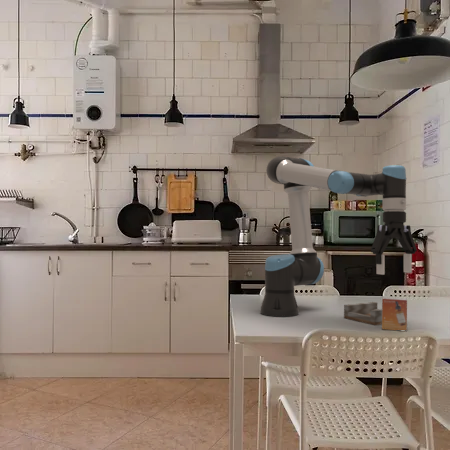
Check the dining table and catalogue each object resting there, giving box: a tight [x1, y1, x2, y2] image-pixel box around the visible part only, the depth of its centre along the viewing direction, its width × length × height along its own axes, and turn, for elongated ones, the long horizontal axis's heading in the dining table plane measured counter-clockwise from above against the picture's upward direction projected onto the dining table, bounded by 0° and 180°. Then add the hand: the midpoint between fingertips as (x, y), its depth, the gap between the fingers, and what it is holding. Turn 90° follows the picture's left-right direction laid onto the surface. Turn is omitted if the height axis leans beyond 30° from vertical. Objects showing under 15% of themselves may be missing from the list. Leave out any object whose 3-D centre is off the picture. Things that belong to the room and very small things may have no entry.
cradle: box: [343, 301, 382, 326], centre depth 169 cm, size 16×15×5 cm
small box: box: [381, 296, 408, 331], centre depth 153 cm, size 8×6×10 cm
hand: (394, 273), depth 153 cm, fingers open, 13 cm apart
